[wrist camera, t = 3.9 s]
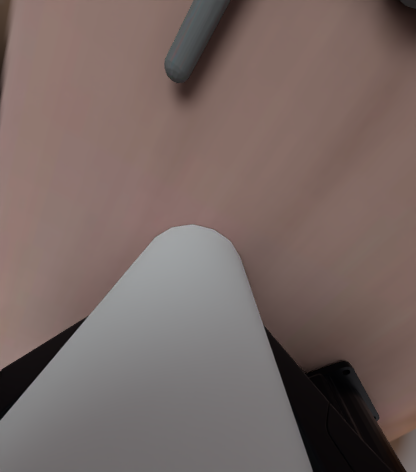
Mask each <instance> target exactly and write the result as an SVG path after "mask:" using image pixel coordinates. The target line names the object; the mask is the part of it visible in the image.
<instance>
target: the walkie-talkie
mask: <svg viewBox="0 0 416 472" xmlns="http://www.w3.org/2000/svg"><path fill="white" fill-rule="evenodd" d="M400 1H401V2H402V3H403V4H404V5H406V6H408V7H412V8H415V9H416V0H400ZM229 2H230V0H194V1H193V3H192V5H191V7H190V9H189V11H188V13H187V15H186V17H185V19H184V21H183V23H182V25H181V27H180V29H179V32H178V34H177V36H176V38H175V40H174V42H173V44H172V46H171V48H170V50H169V52H168V54H167V56H166V58H165V63H164V65H165V70H166V73H167V76H168V77H169V78H170V79H171V80H172V81H174V82H176V83H183V82H185V81H186V80H187V79H188V78H189V76H190V75H191V73H192V71H193V69H194V67H195V65H196V63H197V62H198V60H199V58H200V56H201V54H202V52H203V50H204V49H205V47H206V45H207V43H208V41H209V39H210V37H211V36H212V34H213V32H214V30H215V28H216V26H217V24H218V23H219V21H220V19H221V17H222V15H223V13H224V11H225V10H226V8H227V6H228V4H229Z"/></svg>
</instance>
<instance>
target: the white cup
mask: <svg viewBox="0 0 416 472" xmlns="http://www.w3.org/2000/svg"><path fill="white" fill-rule="evenodd" d="M0 472H313V470H312V467H311V464H310V461H309V458H308V455H307V452H306V450H305V447H304V444H303V441H302V438H301V435H300V432H299V429H298V426H297V423H296V420H295V417H294V414H293V411H292V408H291V405H290V402H289V399H288V397H287V394H286V391H285V388H284V385H283V382H282V379H281V376H280V373H279V370H278V367H277V364H276V361H275V358H274V355H273V352H272V349H271V346H270V344H269V341H268V338H267V335H266V332H265V329H264V326H263V323H262V320H261V317H260V314H259V311H258V308H257V305H256V302H255V299H254V296H253V293H252V291H251V288H250V285H249V282H248V279H247V276H246V273H245V270H244V267H243V264H242V261H241V258H240V256H239V254H238V253H237V251H236V249H235V248H234V246H233V245H232V243H231V241H229V240H228V239H227V238H225V237H224V236H222V235H221V234H219V233H218V232H217V231H215V230H214V229H210V228H206V227H201V226H197V225H185V226H178V227H172V228H170V229H168V230H167V231H165V232H163V233H162V234H160V235H158V236H156V237H155V238H154V239H153V241H152V242H151V243H150V244H149V245H148V246H147V248H146V249H145V250H144V251H143V252H142V254H141V255H140V256H139V257H138V258H137V259H136V261H135V262H134V263H133V264H132V265H131V267H130V268H129V269H128V270H127V271H126V272H125V274H124V275H123V276H122V277H121V278H120V280H119V281H118V282H117V283H116V284H115V286H114V287H113V288H112V289H111V290H110V291H109V293H108V294H107V295H106V296H105V297H104V299H103V300H102V301H101V302H100V303H99V304H98V306H97V307H96V308H95V309H94V310H93V312H92V313H91V314H90V315H89V316H88V317H87V319H86V320H85V321H84V322H83V323H82V325H81V326H80V327H79V328H78V329H77V330H76V332H75V333H74V334H73V335H72V336H71V338H70V339H69V340H68V341H67V342H66V344H65V345H64V346H63V347H62V348H61V349H60V351H59V352H58V353H57V354H56V355H55V357H54V358H53V359H52V360H51V361H50V362H49V364H48V365H47V366H46V367H45V368H44V370H43V371H42V372H41V373H40V374H39V375H38V377H37V378H36V379H35V380H34V381H33V383H32V384H31V385H30V386H29V387H28V388H27V390H26V391H25V392H24V393H23V394H22V396H21V397H20V398H19V399H18V400H17V401H16V403H15V404H14V405H13V406H12V407H11V409H10V410H9V411H8V412H7V413H6V415H5V416H4V417H3V418H2V419H1V420H0Z"/></svg>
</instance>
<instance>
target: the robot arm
mask: <svg viewBox="0 0 416 472" xmlns="http://www.w3.org/2000/svg"><path fill="white" fill-rule="evenodd" d="M87 317H88V316H87ZM87 317H86V318H84V319H82V320H81V321H79V322H78V323H76V324H74V325H73V326H71V327H70V328H68V329H66V330H65V331H63V332H61V333H60V334H58V335H57V336H55V337H53V338H52V339H50V340H49V341H47V342H45V343H44V344H42V345H40V346H39V347H37V348H36V349H34V350H32V351H31V352H29V353H27V354H26V355H24V356H23V357H21V358H19V359H18V360H16V361H15V362H13V363H11V364H10V365H8V366H6V367H5V368H3V369H2V370H1V371H0V420H1V419H2V418H3V417H4V416H5V415H6V413H7V412H8V411H9V410H10V409H11V407H12V406H13V405H14V404H15V403H16V401H17V400H18V399H19V398H20V397H21V396H22V394H23V393H24V392H25V391H26V390H27V388H28V387H29V386H30V385H31V384H32V383H33V381H34V380H35V379H36V378H37V377H38V375H39V374H40V373H41V372H42V371H43V370H44V368H45V367H46V366H47V365H48V364H49V362H50V361H51V360H52V359H53V358H54V357H55V355H56V354H57V353H58V352H59V351H60V349H61V348H62V347H63V346H64V345H65V344H66V342H67V341H68V340H69V339H70V338H71V336H72V335H73V334H74V333H75V332H76V330H77V329H78V328H79V327H80V326H81V325H82V323H83V322H84V321H85V320H86V319H87ZM263 326H264V325H263ZM264 329H265V332H266V335H267V338H268V341H269V344H270V346H271V349H272V352H273V355H274V358H275V361H276V364H277V367H278V370H279V373H280V376H281V379H282V382H283V385H284V388H285V391H286V394H287V397H288V399H289V402H290V405H291V408H292V411H293V414H294V417H295V420H296V423H297V426H298V429H299V432H300V435H301V438H302V441H303V444H304V447H305V450H306V452H307V455H308V458H309V461H310V464H311V467H312V470H313V472H406V470H405V469H404V467H403V465H402V464H401V462H400V460H399V458H398V457H397V455H396V454H395V452H394V450H393V448H392V447H391V445H390V443H389V442H388V440H387V438H386V437H385V435H384V433H383V432H382V430H381V428H380V427H379V425H378V423H377V421H378V420H379V415H378V413H377V411H376V409H375V408H374V406H373V404H372V402H371V400H370V398H369V397H368V395H367V393H366V391H365V389H364V387H363V386H362V384H361V382H360V380H359V378H358V376H357V374H356V373H355V371H354V369H353V367H352V366H351V364H350V363H349V362H346V361H342V362H339V363H336V364H333V365H331V366H328V367H325V368H323V369H320V370H317V371H314V372H312V373H309V374H305V373H304V372H303V371H302V370H301V368H300V367H299V366H298V365H297V364H296V363H295V361H294V360H293V359H292V358H291V357H290V356H289V354H288V353H287V352H286V351H285V350H284V349H283V347H282V346H281V345H280V344H279V343H278V341H277V340H276V339H275V338H274V337H273V336H272V334H271V333H270V332H269V331H268V330H267V329H266V327H265V326H264Z"/></svg>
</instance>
